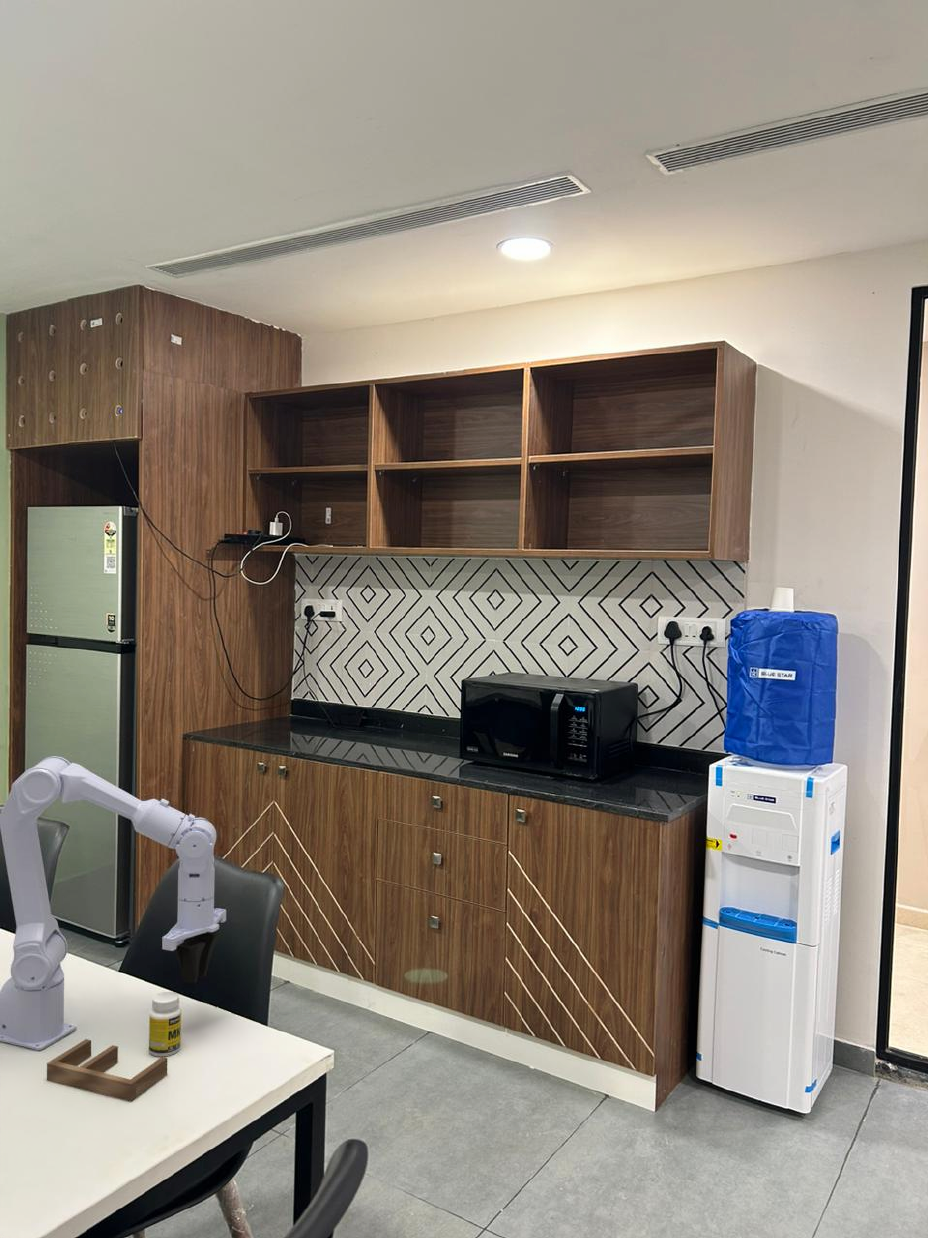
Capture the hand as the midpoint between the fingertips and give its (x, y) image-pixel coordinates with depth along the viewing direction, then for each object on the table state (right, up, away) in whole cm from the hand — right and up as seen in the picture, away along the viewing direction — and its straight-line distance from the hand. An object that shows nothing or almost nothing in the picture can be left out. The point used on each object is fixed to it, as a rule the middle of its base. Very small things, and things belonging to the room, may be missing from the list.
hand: (194, 978), depth 156 cm
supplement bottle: (-3, -9, -7) cm, 11 cm away
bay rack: (-9, -9, -15) cm, 20 cm away
